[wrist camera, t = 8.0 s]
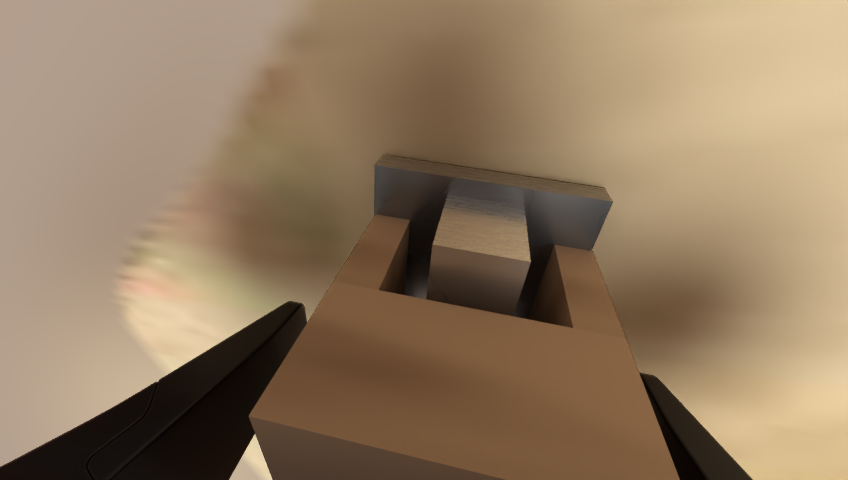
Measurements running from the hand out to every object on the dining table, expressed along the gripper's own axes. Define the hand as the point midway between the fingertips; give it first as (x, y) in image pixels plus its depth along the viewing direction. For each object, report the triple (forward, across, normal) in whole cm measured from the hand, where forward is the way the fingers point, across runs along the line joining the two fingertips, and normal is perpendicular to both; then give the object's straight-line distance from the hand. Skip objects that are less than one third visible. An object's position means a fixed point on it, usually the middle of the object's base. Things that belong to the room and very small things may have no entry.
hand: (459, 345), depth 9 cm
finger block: (+2, 0, 0) cm, 2 cm away
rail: (+3, 0, +5) cm, 6 cm away
